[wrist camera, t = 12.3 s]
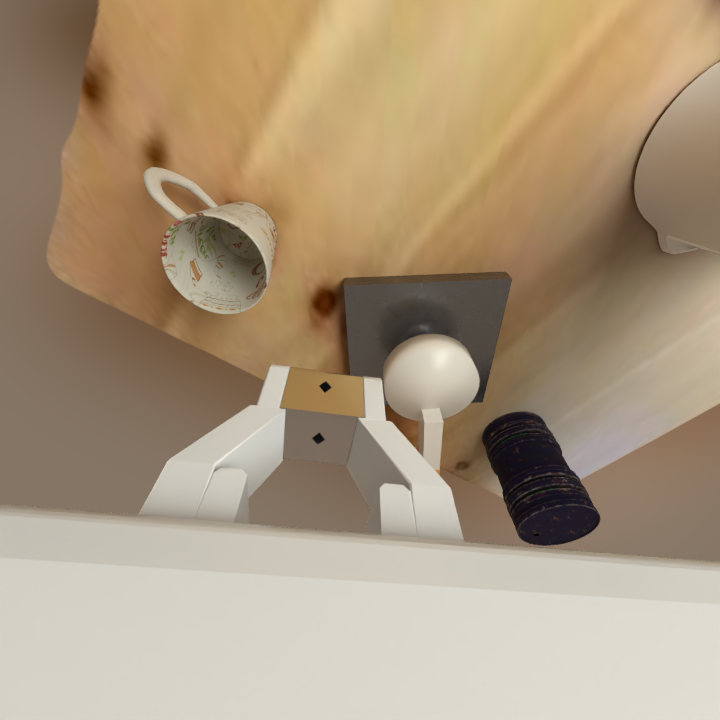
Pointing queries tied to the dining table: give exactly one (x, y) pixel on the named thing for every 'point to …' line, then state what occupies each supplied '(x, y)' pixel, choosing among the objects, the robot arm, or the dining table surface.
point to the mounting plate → (424, 316)
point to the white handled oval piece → (430, 386)
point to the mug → (215, 248)
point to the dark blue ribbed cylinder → (538, 481)
